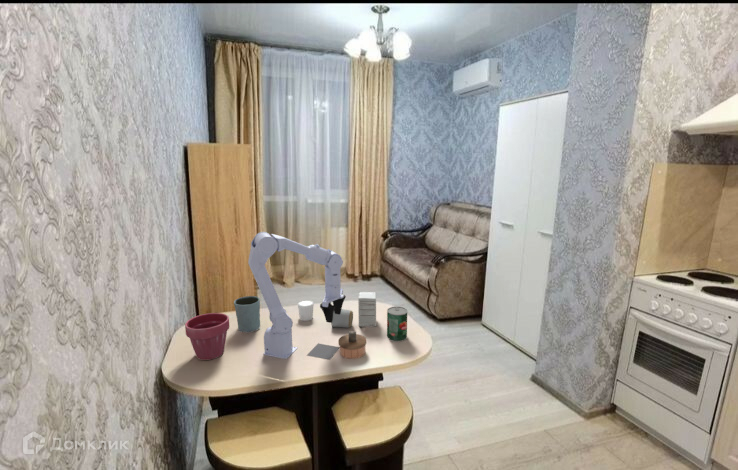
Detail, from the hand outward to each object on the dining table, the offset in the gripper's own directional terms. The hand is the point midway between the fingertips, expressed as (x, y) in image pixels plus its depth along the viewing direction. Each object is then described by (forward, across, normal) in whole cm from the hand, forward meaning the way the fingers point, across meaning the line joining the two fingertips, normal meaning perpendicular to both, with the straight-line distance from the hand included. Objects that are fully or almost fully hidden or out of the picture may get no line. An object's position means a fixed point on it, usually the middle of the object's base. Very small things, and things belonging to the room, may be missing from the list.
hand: (333, 317), depth 140 cm
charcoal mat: (+9, -9, 0) cm, 13 cm away
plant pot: (+10, -23, +38) cm, 45 cm away
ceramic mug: (+10, +14, +2) cm, 17 cm away
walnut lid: (+5, -6, -10) cm, 13 cm away
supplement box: (+10, +19, -7) cm, 22 cm away
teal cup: (+10, -1, +38) cm, 39 cm away
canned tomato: (+10, +11, -22) cm, 26 cm away
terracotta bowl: (+9, -6, -10) cm, 15 cm away
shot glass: (+10, +15, +20) cm, 27 cm away
